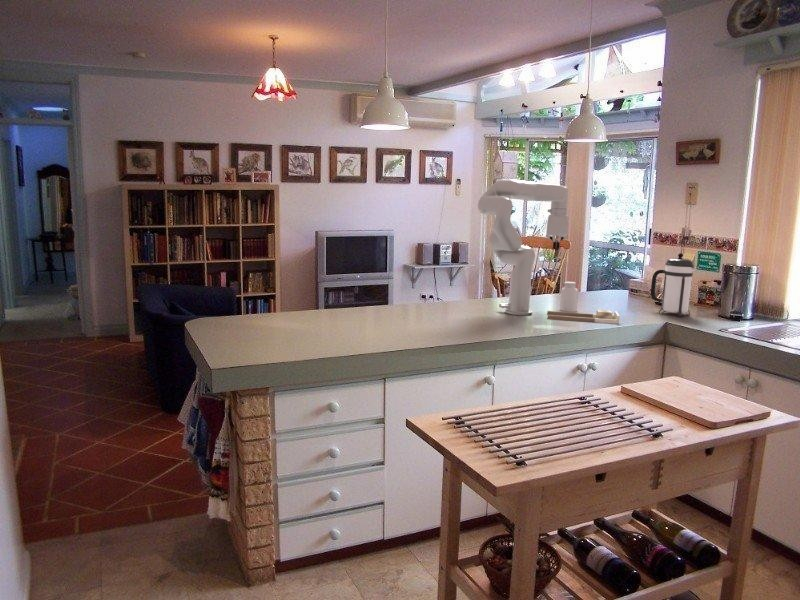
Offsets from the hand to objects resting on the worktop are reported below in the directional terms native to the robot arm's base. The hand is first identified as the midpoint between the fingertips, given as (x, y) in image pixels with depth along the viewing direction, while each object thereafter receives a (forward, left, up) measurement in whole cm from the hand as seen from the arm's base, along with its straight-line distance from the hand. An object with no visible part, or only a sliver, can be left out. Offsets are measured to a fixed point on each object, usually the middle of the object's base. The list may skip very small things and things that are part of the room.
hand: (555, 250), depth 309 cm
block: (+22, -30, -28) cm, 46 cm away
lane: (+12, -30, -29) cm, 44 cm away
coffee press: (+57, +9, -29) cm, 65 cm away
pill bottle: (+7, -10, -29) cm, 32 cm away
